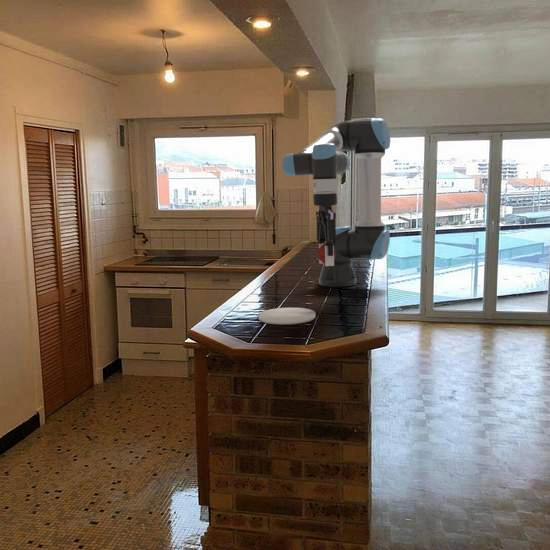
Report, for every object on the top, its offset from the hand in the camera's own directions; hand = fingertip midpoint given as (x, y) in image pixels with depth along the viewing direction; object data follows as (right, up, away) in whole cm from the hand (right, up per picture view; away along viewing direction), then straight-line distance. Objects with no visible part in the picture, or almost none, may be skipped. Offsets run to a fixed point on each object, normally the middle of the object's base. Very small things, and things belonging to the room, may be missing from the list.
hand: (326, 264), depth 194 cm
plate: (-13, -17, -6) cm, 22 cm away
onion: (0, -1, 0) cm, 1 cm away
